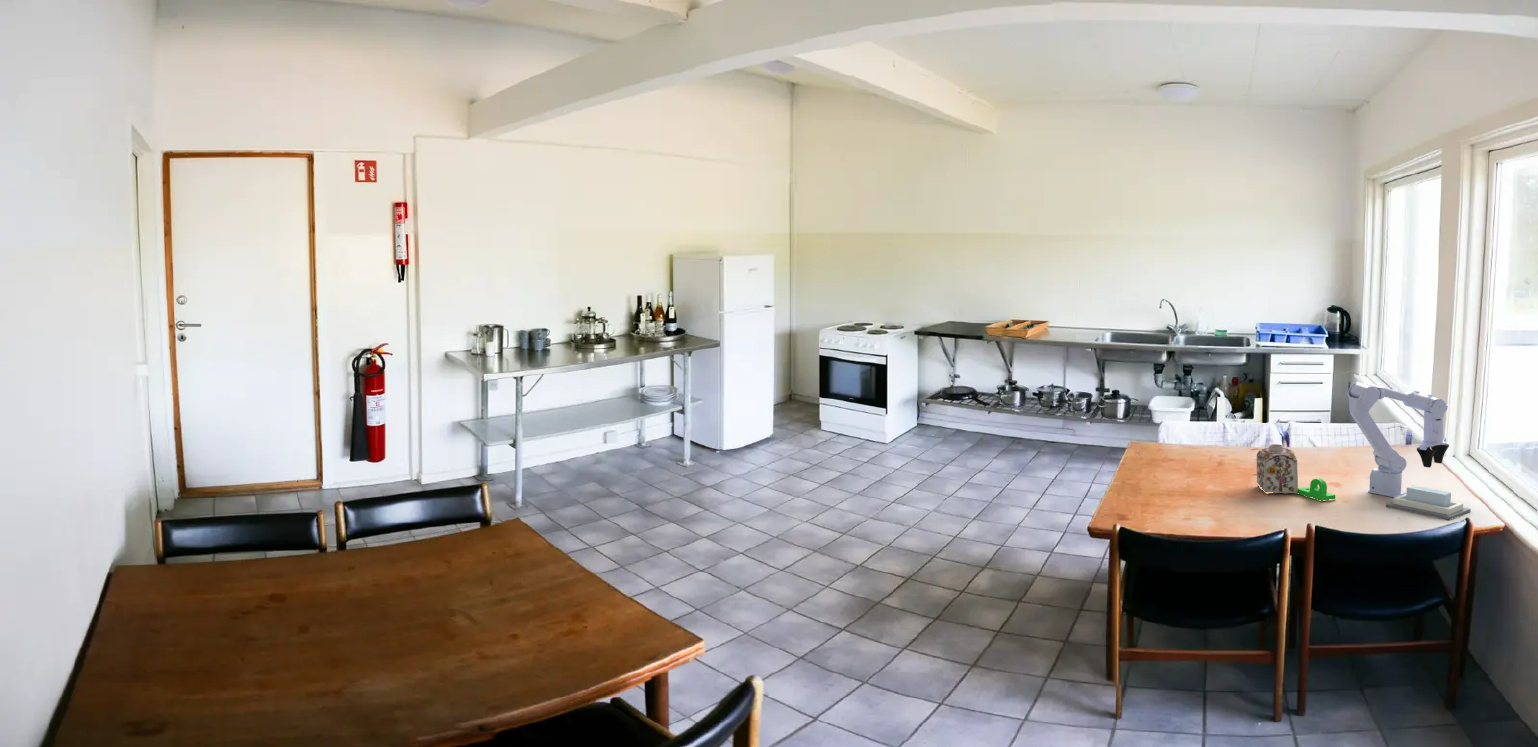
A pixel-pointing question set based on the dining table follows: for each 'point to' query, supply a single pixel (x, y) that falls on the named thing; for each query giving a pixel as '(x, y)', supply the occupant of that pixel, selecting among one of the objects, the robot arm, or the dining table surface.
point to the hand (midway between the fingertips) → (1432, 465)
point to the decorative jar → (1277, 469)
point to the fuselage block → (1429, 496)
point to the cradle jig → (1428, 508)
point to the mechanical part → (1317, 490)
